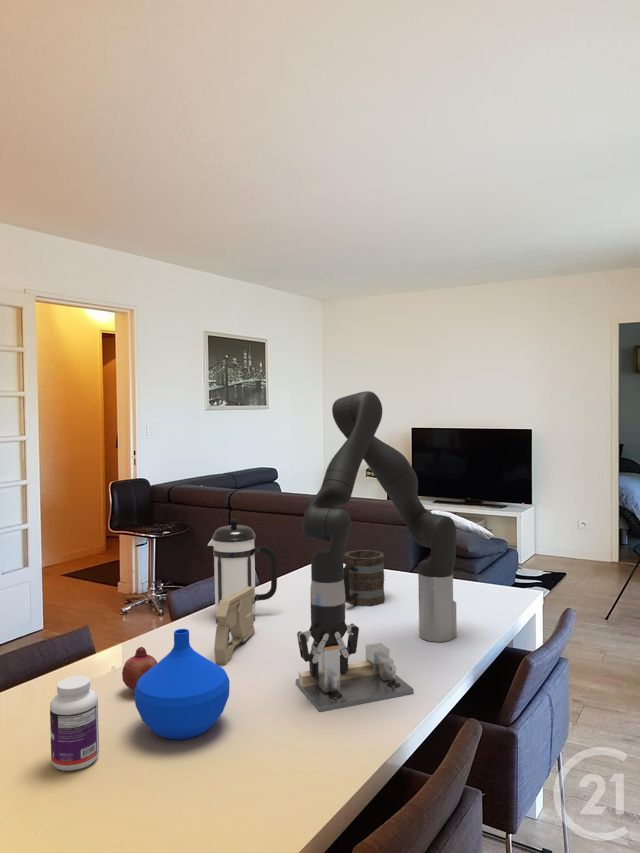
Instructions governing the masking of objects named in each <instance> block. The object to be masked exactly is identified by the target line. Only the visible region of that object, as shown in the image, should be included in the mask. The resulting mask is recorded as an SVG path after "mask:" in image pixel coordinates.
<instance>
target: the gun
mask: <svg viewBox="0 0 640 853" xmlns="http://www.w3.org/2000/svg"><path fill="white" fill-rule="evenodd" d="M252 602H254V587H249V586H246V587H244V588H242V589H241V590H239V591H237V592H236V593H234V594H231V595H229V596H227V597H226V598H224V599H222V600H220V602H219V606H218V609H217V613H216V612H215V620H216V619H218V622H217V623H216V624H217V625H216V628H215V637H214V639H215V640H214V648H213V650H214V658H215V664H217V665H225V666H226V665H228V664H229V663H228V662H229V661H230V660H231V657H233V654H234V649H235V648H236V647H238V646H239V645H240V644H243V643H244V642H246V641H247V640H248V639H250V638H251V637H252V636H254V634H255V633H256V631H255V626H254V624H255V623H254V622H255V621H254V617H255V616H254V614H255V613H254V612H255V611H254V612H253V611H252ZM230 635H231V641H230Z"/></svg>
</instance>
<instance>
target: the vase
mask: <svg viewBox="0 0 640 853" xmlns="http://www.w3.org/2000/svg"><path fill="white" fill-rule="evenodd" d="M133 691H134V690H133ZM229 696H230V679H229V676H228V673H227V672H226V670H225V669H224V668H223V667H221V666H220V665H219V664H216V662H214V661H212V660H209V659H208V658H206V657H205V656H203V655H202V654H200V653H199V652H197V651H196V650H195V649H194V648H192V646H191V644H190V630H189V629H188V628H179V629H176V630H174V631H173V646H172V649H171V650H170V651H169V653H167V654H166V655H165V656H164V657H162V659H161V660H159V661H157V664H156V665H155V666H153V667H152V668H151V669H150V670H148V671H147V672H146V673H144V674H143V675H142V676H141V677H140V678H139V680H138V682H137V685H136V688H135V691H134V703H135V709H136V710H137V712H138V714H139V717H140V718H141V720H142V722H143V723H144V724H145V725H146V726H147V727H148V728H149V729H150V731H152V732H153V733H155V734H157V735H159V736H160V737H162V738H165V739H169V740H176V741H177V740H187V739H192V738H195V737H198V736H201V735H202V734H204V733H205V732H206V731H208V730H209V729H210V728H211V727H212V726H214V725H215V724H216V722H217V720H218V719H220V717H221V715H222V714H223V712H224V710H225V707H226V704H227V702H228V700H229Z"/></svg>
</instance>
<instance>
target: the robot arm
mask: <svg viewBox="0 0 640 853" xmlns="http://www.w3.org/2000/svg"><path fill="white" fill-rule="evenodd" d="M331 414H332V417H333V421H334V422H335V424H336V427H337V428H338V430H339V431H340V432H341V433H342V434H343V436H344V437H345V438H346V440H345V442H344V443H343V444H342V445H341V447H340V448H339V450H338V451H337V452H336V453H335V454H334V455H333V457H332V459H330V462H329V463H328V466H327V468H326V471H325V473H324V476H323V480H322V483H321V486H320V489H319V490H318V492H317V494H316V495H315V496H314V498H313V499H312V501H311V502H310V504H309V506H308V507H307V509H306V510H305V511H304V513H303V514H304V515H303V516H302V521H301V522H302V523H301V528H302V532H303V534H304V536H305V537H306V538H307V539H308V540H314V541H323V542H330V546H329V549H322V550H317V551H315V552H314V553H312V555H311V560H310V561H311V562H310V572H311V574H310V575H311V576H310V577H311V578H310V580H311V582H310V627H309V630H306V631H303V632H302V631H298V632H296V635H297V636H296V638H297V642H298V648H299V654H300V658H302V660H304V662H307V663H308V662H309V664H308V665H309V671H310V675H311V676H312V677H313V678H314V679H315V680H318V679H319V672H318V662H317V661H318V658H319V656H320V654H321V653H322V651H323V648H324V646H329V645H335V644H338V645H340V673H341V674H342V675H345V674H346V672H347V671H348V664H349V656H351V655H355V654H356V653H357V648H358V640H359V633H360V627H358V626H357V625H356V624H355V623H353V622H352V623H350V624H347V623H346V602H345V597H346V596H345V586H344V579H343V578H344V572H343V569H344V562H345V558H344V555H345V553H346V549H347V544H348V542H349V536H350V533H351V528H352V520H351V516H350V515H349V513H348V511H346V510H344V509H343V508H337V507H343V506H345V505H347V504H348V503H349V502H350V500H351V498H352V494H353V491H354V487H355V483H356V480H357V476H358V472H359V470H360V467H361V464H362V462H363V461H364V462H365V463H366V465H367V466H368V468H369V469H370V470H371V473H373V475H374V476H375V478H376V480H377V481H378V483H379V484H380V486H381V488H382V489H383V490H384V492H385V493H386V495H387V497H389V499H390V501H391V502H392V503H393V505H394V506H395V508H396V509H397V511H398V512H399V515H400V516H401V518H402V520H403V521H404V523H405V525H406V528H407V530H408V532H409V533H410V535H411V537H412V538H413V541H414V542H415V543H417V544H418V545H420V546H422V547H424V548H430V557H429V558H428V559H423V560H421V561H420V562H419V563H418V572H417V573H418V575H417V576H418V635H419V637H420V638H421V639H423V640H425V641H428V642H434V643H435V642H436V643H437V642H438V643H441V642H448V641H451V640H453V639H454V638H457V635H458V634H457V633H458V632H457V628H458V627H457V621H458V620H457V602H456V601H455V600H454V567H455V563H456V556H457V554H456V552H457V526H456V524H455V521H454V520H453V518H452V517H451V516H448V515H443V514H436V513H431V512H429V511H428V510H427V508H425V506H424V505H423V504H422V501H420V498H419V496H418V492H419V491H418V490H419V479H418V475H417V474H416V471H415V470H414V468H413V467H412V465H411V464H410V462H409V461H408V459H407V458H406V457H405V455H404V454H402V453H401V452H400V451H398V450H397V449H396V448H395V447H393V446H391V445H389V444H387V443H386V442H384V441H382V440H381V439H379V438H378V437H376V436H375V435H376V432H377V430H378V428H379V426H380V424H381V421H382V419H383V405H382V402H381V399H380V398H379V396H378V395H377V394H376V393H375V392H374V391H371V390H368V391H367V390H366V391H361V392H357V393H353V394H349V395H346V396H342V397H340V398H338V399H336V400H335V401H334V402H333V403H332V407H331ZM346 633H347V636H348V637H347V645H345V643H344V640H343V637H344V636H345V634H346ZM310 637H311V638H312V639H313V641H312V643H311V647H310V648H311V649H310V651H309V648H308V647H309V646H308V643H309V641H310Z"/></svg>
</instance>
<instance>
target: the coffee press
mask: <svg viewBox="0 0 640 853" xmlns="http://www.w3.org/2000/svg"><path fill="white" fill-rule="evenodd" d="M229 523H230V525H225V526H221V527H218V528H217V529H216V530H215V531H214V533H213V535H212V538H211V540H209V542H208V543H207V546H208V547H213V548H212V550H213V551H212V552H213V553H212V555H213V558H214V559H213V566H214V568H213V570H214V574H213V575H214V609H215V614H216V613H217V609H218V606H219V602H220V600H222V599H224V598H226V597H227V596H229V595H231V594H234V593H236V592H237V591H239V590H241V589H242V588H244V587H246V586H249V587H254V602H252V611H253V612H255V610H256V602H258V601H265V600H269V599H271V598H272V597H273V596H274V595H275V594H276V592H277V588H278V569H277V567H278V566H277V558H276V554H275V552H274V551H273V550H272V549H271V548H270V547H267V546H256V545H255V539H256V537H257V536H256V533H255V532H254V530H253V529H252V527H250V526H247V525H242V524H238V519H237V518H235V517H232V518H231V519H230V521H229ZM256 553H261V554H266V555H267V556H268V557H269V559H270V576H271V577H270V580H271V582H270V589H269V590H268V592H266V593H260V594H259V593H257V594H256V571H255V570H256V569H255V568H256V563H255V558H256V557H255V554H256ZM255 621H256V617H255V616H254V622H255ZM217 622H218V619H216V618H215V624H217Z"/></svg>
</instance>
